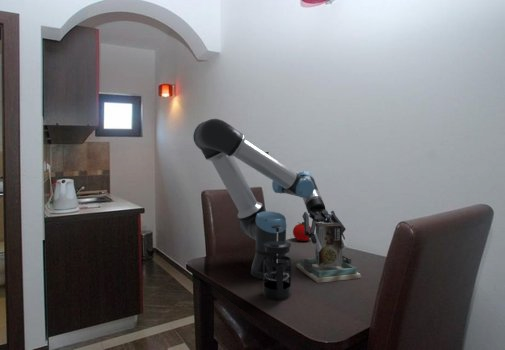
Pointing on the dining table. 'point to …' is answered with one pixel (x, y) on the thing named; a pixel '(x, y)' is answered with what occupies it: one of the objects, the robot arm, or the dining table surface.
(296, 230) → the tomato
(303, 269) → the tray
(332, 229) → the coffee box
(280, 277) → the french press
